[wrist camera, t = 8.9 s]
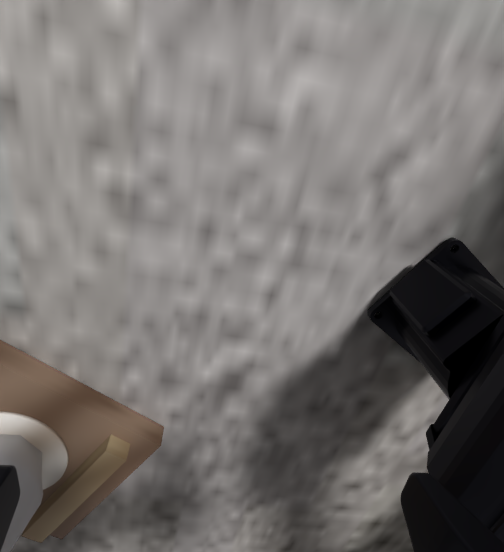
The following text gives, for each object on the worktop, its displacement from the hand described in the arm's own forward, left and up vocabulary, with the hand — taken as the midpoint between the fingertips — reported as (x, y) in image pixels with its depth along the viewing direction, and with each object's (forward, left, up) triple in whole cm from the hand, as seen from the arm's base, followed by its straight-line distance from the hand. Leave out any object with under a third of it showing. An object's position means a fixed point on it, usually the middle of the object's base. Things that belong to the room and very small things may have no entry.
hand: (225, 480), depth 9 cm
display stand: (+2, +18, -13) cm, 22 cm away
